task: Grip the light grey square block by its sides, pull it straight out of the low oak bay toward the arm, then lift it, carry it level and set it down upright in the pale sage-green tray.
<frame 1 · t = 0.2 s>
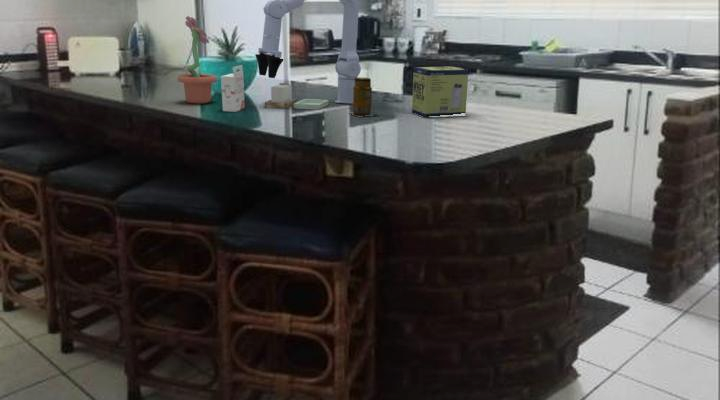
hand: (266, 76, 220), 10 cm above the table, tool pointing down, fingers open, 7 cm apart
tray: (311, 106, 226), on the table
ink cartridge box: (233, 110, 216), on the table
condiment: (362, 115, 211), on the table
light grey square block: (281, 95, 225), in the caddy bay
decorative flower: (199, 103, 229), on the table
protein box: (438, 115, 214), on the table
caddy bay: (281, 105, 226), on the table
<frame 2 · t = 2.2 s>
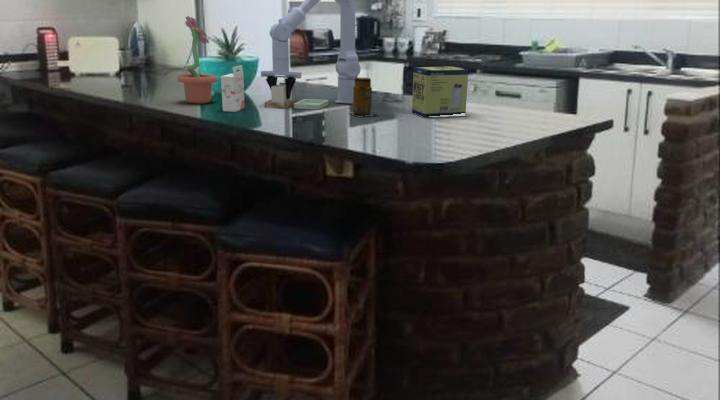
hand: (281, 98, 225), 3 cm above the table, tool pointing down, fingers closed on light grey square block, 4 cm apart
light grey square block: (281, 94, 225), in the caddy bay, touching gripper
everything else where it was.
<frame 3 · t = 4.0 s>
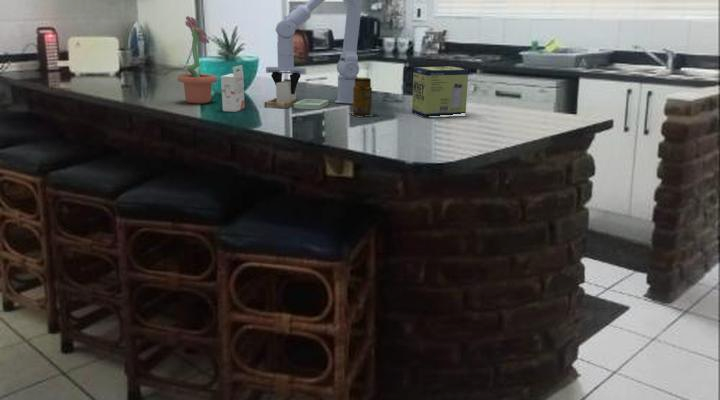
hand: (286, 93, 230), 4 cm above the table, tool pointing down, fingers closed on light grey square block, 4 cm apart
light grey square block: (286, 91, 229), point 5 cm above the table, touching gripper
everything else where it was.
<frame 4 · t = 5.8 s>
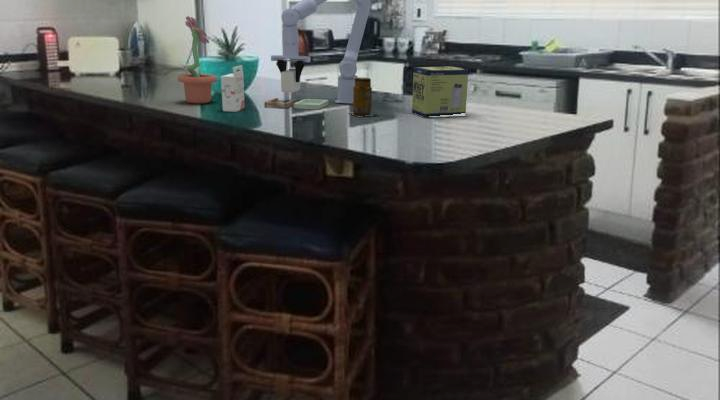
hand: (291, 81, 233), 7 cm above the table, tool pointing down, fingers closed on light grey square block, 4 cm apart
light grey square block: (290, 80, 233), point 8 cm above the table, touching gripper
everything else where it was.
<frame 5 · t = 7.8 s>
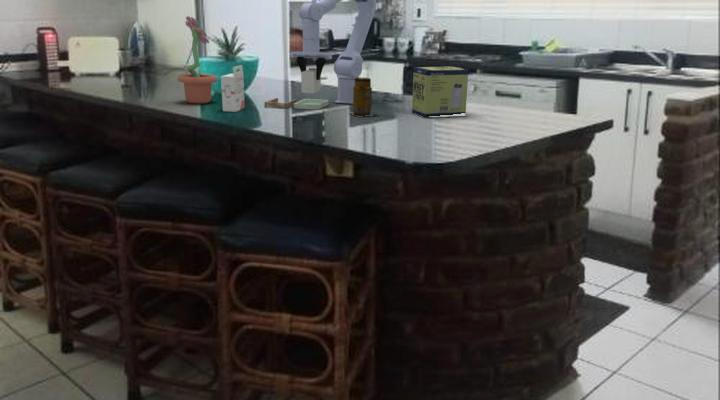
hand: (311, 79, 223), 9 cm above the table, tool pointing down, fingers closed on light grey square block, 4 cm apart
light grey square block: (311, 80, 223), point 9 cm above the table, touching gripper
everything else where it was.
when the fingers open (5 cm above the table, at t = 9.3 s): light grey square block stays where it is, resting on tray.
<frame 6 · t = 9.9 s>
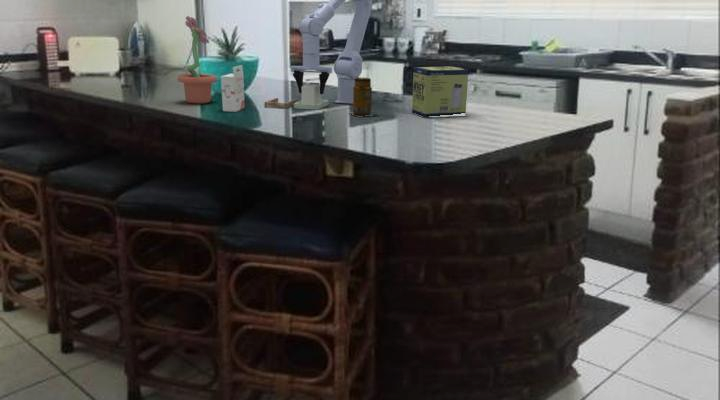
hand: (311, 93, 224), 5 cm above the table, tool pointing down, fingers open, 7 cm apart
light grey square block: (311, 94, 224), in the tray
everything else where it was.
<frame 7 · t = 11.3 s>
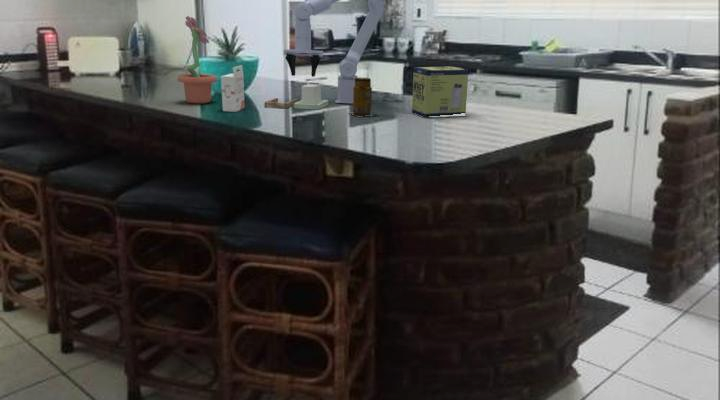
hand: (303, 75, 233), 9 cm above the table, tool pointing down, fingers open, 7 cm apart
nothing on the table moved.
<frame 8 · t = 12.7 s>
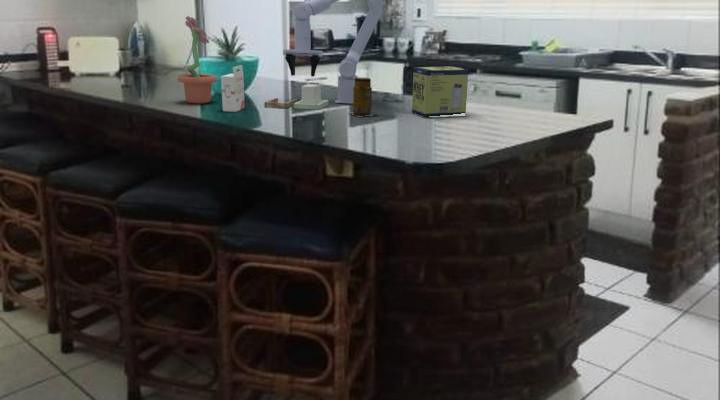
hand: (303, 75, 234), 9 cm above the table, tool pointing down, fingers open, 7 cm apart
nothing on the table moved.
at the end: light grey square block 0.1 cm off-centre on the tray, point 4.2 cm above the tray's base; light grey square block tilted 0°; the gripper is holding nothing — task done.
